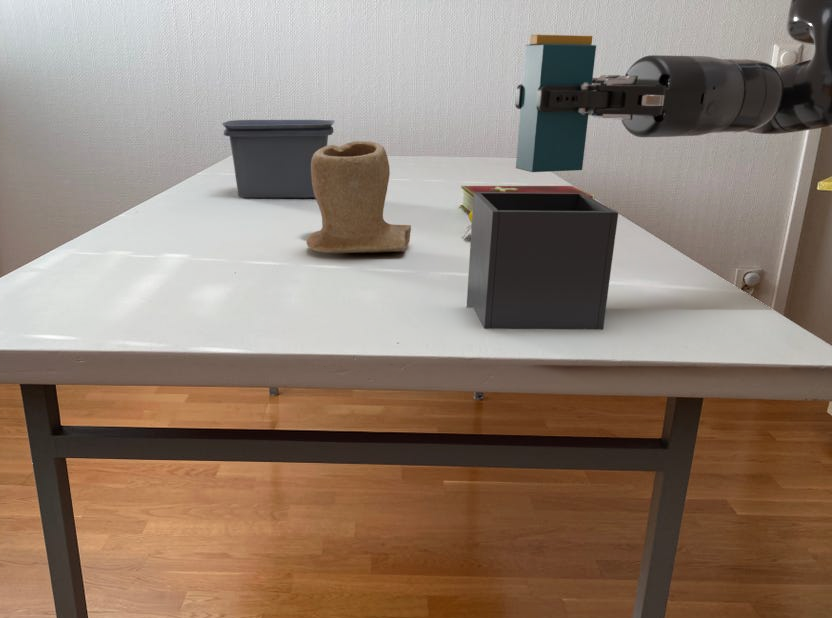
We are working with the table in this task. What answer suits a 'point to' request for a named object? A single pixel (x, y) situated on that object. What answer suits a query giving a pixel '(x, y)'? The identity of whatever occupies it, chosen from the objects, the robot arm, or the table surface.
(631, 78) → the robot arm
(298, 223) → the table surface
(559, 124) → the block
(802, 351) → the table surface
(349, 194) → the stone cup
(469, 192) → the hardcover book
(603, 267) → the trash bin
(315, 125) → the storage bin
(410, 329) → the table surface
